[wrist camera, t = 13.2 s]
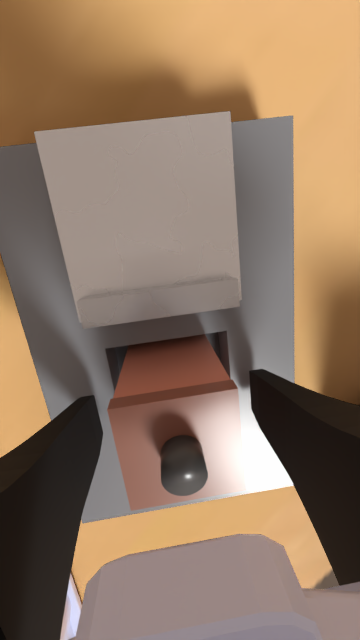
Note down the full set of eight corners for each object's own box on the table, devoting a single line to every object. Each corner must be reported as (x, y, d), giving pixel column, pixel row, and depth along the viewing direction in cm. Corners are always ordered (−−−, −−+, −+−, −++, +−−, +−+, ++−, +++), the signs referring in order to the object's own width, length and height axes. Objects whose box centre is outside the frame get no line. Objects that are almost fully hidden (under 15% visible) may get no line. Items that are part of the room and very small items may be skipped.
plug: (211, 397, 15) (255, 516, 8) (141, 408, 15) (127, 540, 8) (204, 330, 14) (248, 406, 7) (128, 342, 14) (100, 430, 7)
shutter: (233, 294, 11) (250, 305, 9) (87, 315, 11) (71, 330, 9) (221, 127, 10) (239, 93, 8) (49, 146, 9) (17, 116, 7)
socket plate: (275, 452, 17) (294, 485, 15) (93, 483, 16) (82, 523, 14) (266, 142, 12) (293, 115, 10) (7, 170, 12) (-31, 150, 9)
